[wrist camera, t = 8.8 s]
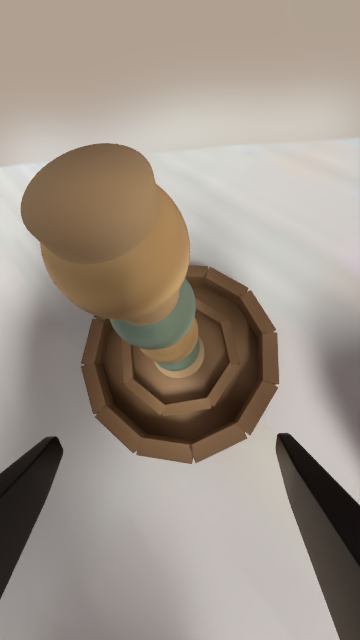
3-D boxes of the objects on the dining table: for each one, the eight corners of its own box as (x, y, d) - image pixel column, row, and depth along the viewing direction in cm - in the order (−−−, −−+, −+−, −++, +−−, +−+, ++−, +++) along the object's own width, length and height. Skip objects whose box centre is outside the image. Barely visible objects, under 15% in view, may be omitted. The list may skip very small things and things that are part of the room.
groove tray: (203, 505, 14) (202, 524, 12) (61, 374, 18) (43, 371, 16) (304, 332, 17) (319, 323, 15) (164, 253, 21) (160, 237, 19)
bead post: (170, 389, 16) (9, 344, 3) (145, 345, 18) (-41, 178, 4) (214, 360, 16) (252, 202, 3) (186, 319, 18) (134, 93, 5)
